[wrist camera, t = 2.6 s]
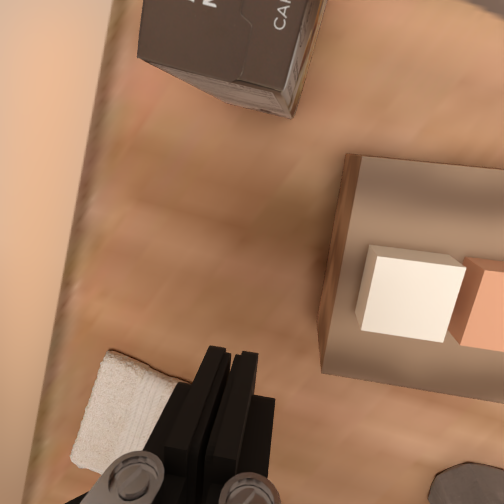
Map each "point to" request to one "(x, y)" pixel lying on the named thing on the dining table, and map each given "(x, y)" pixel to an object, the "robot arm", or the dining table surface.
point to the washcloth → (120, 411)
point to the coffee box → (235, 47)
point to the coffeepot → (468, 485)
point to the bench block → (413, 238)
